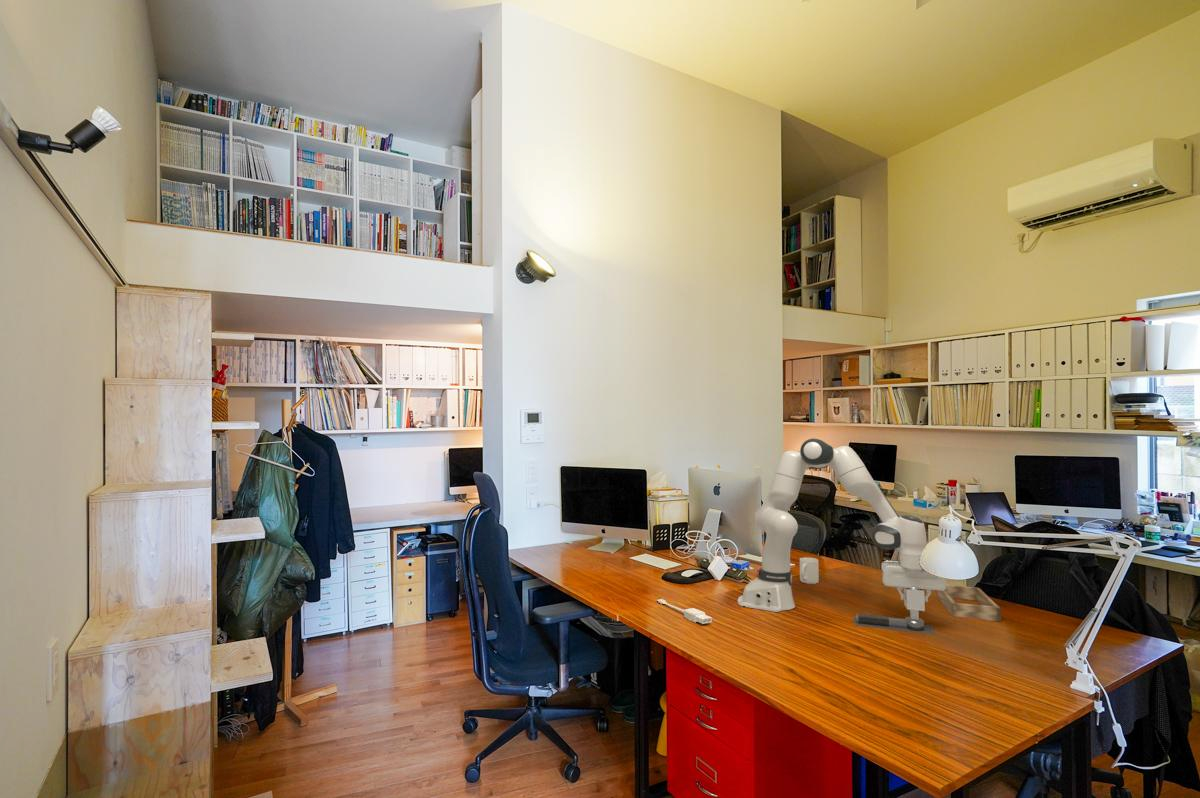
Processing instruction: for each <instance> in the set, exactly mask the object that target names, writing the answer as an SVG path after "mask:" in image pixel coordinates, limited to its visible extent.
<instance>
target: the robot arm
mask: <svg viewBox="0 0 1200 798" xmlns="http://www.w3.org/2000/svg"><path fill="white" fill-rule="evenodd" d="M828 467H829V468H831V469H832V470H833V472H834V473H835V475H836V477H837V478H838V480H839V483H840V484H841V486H842V487H843V488H844V490H845V491H846V492H847V494H850V495H852V496H853V497H858V498H860V499H863V500H864V501H866V502H867V503H868V504H870V506H871V507H872V509H873V510H874V511H875V513H876V514H877V516H878V517H879V519H880V521H881V523H880V522H879V523H877V524H876V525H874V526H873V527H872V529H871V531H870V538H871V541H872V542H873V545H874V546H876V547H877V548H879V549H881V550H894V549H895V550H898V559H899V560H890V559H887V560H886V559H885V560H884V561H882V562H881V565H880V567H881V571H882V581H881V582H882V583H883V585H884V586H885V587H890V588H891V587H892V588H896V590H897V591H898V592H899V593H898V594H899V595H900V600H901V601H904V600H906V595H905V594H904V593H902V591H903V589H904V588H910V587H913V588H919V589H923V590H925V594H924V599H925V603H928V602H929V597H930V596H931V594H932V591H937V590H939V591H945V589H946V588H947V586H946V585H947V579H946V578H945V579H944V578H941V577H938V576H935V575H932V574H930V573H929V572H927V571H925V570H923V569H922V568H921V567H920V565H919V559H920V557H921V554H922V551H923V549H924V548H925V549H926V545H927V533H926V525H925V523H924V522H923V520H922V519H920V518H918V517H916V516H913V515H907V514H904V515H899V514H898V512H897V511H896V509H895V508H894V506H893V505H892V504H891V502H890V501H889V499H888V498H887V497H886V495H885V494H884V492H883V491H882V489H881V488H880V486H879V485H878V484H877V483H876V482H875V480H874V479H873V477H872V475H871V474H870V472H869V471H868V469H867V467H866V465H865V464H864V462H863V461H862V459H861V458H860V456H859V455H858V454H857V452H856V451H854V449H853V448H851V446H848V445H841V446H838V447H835V448H834V447H833V446H831V445H829V444H828V443H826V441H823V440H821V439H819V438H809V439H807V440H805V441H804V442H803V443H802V444H801V446H800V449H799V451H796V450H787V451H784V452H783V453H782V456H781V457H780V459H779V460H778V463H777V466H776V469H775V471H774V474H773V479H772V482H771V485H770V488H769V491H768V493H767V495H766V497H765V498H764V501H763V503H762V504H761V506H760V507H759V508H758V509H757V510H756V511H755V514H754V521H755V524H756V526H757V527H758V528H759V529H760V530H761V531H762V532H764V533H765V534H766V537H765V543H764V545H763V547H762V549H761V567H760V566H758V567H756V577H755V578H754V579H753V580H751V581H750V582H749V583H747V584H746V585H745V587H744V589H743V593H742V595H740V596H739V597H738V599H737V604H738V605H739V606H740V607H743V606H745V607H744V608H752V609H756V610H763V611H768V612H775V613H777V612H781V611H788V610H792V609H794V608H795V607H796V604H795V601H794V597H793V591H792V590H793V589H792V584H793V577H792V575H793V574H792V570H791V550H792V549H791V548H792V544H793V539H794V537H795V535H797V532H798V529H799V525H798V522H797V520H796V519H795V517H794V516H793V515H792V514H791V513H789V509H790V508H791V506H792V505H793V504H794V503H795V502H796V501H797V499H798V497H799V493H800V489H801V487H802V483H803V479H804V475H805V473H806V471H807V470H808V469H809V470H810V469H811V470H813V469H814V470H819V469H826V468H828Z"/></svg>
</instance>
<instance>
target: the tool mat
mask: <svg viewBox="0 0 1200 798" xmlns="http://www.w3.org/2000/svg"><path fill="white" fill-rule="evenodd" d="M852 619H853V624H854V626H858V627H868V628H875V629H886V630H896V631H903V632H904V631H905V632H913V633H914V632H915V633H923V634H933V635H936V634H937V633H936V631H935V629H934V628H933V627H932V625H931V624H930V625H928V624H924V630H923V631H913V630H909V629H906V628H897V627H886V626H876V625H867V624H859V623H857V621H856V617H852Z"/></svg>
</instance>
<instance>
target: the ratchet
mask: <svg viewBox="0 0 1200 798" xmlns="http://www.w3.org/2000/svg"><path fill="white" fill-rule="evenodd" d="M919 613H920V610H909V616H905V618H900V617H899V618H898V617H897V618H896V617H888V616H887V615H886V616H885V615H884V616H883V615H877V614H866V613H856V614H855V615H856V616H855V618H856V621H857V623H859V624H867V625H876V626H886V627H897V628H906V629H909V630H913V631H923V630H924V625H925V620H924V619H922V618H921V617H920V618H919Z"/></svg>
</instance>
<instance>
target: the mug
mask: <svg viewBox="0 0 1200 798" xmlns="http://www.w3.org/2000/svg"><path fill="white" fill-rule="evenodd" d="M819 564H820V563H819V559H817V558H814V557H800V558H799V580H800V581H801V583H803V584H808V585H817V584H818V583H819V581H820V577H819V576H820V575H819V574H820V573H819V571H820V570H819V568H820V567H819ZM816 583H817V584H816Z"/></svg>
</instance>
